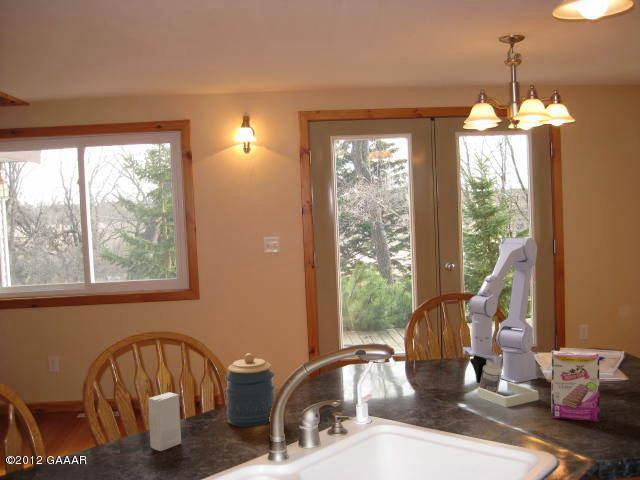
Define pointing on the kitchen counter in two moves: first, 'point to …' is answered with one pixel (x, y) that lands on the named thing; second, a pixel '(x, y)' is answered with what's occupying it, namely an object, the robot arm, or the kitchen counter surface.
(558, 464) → the kitchen counter surface
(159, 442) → the skincare box
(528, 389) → the u-shaped bracket
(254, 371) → the canister
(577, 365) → the candy bar box
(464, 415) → the kitchen counter surface
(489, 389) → the pill bottle
